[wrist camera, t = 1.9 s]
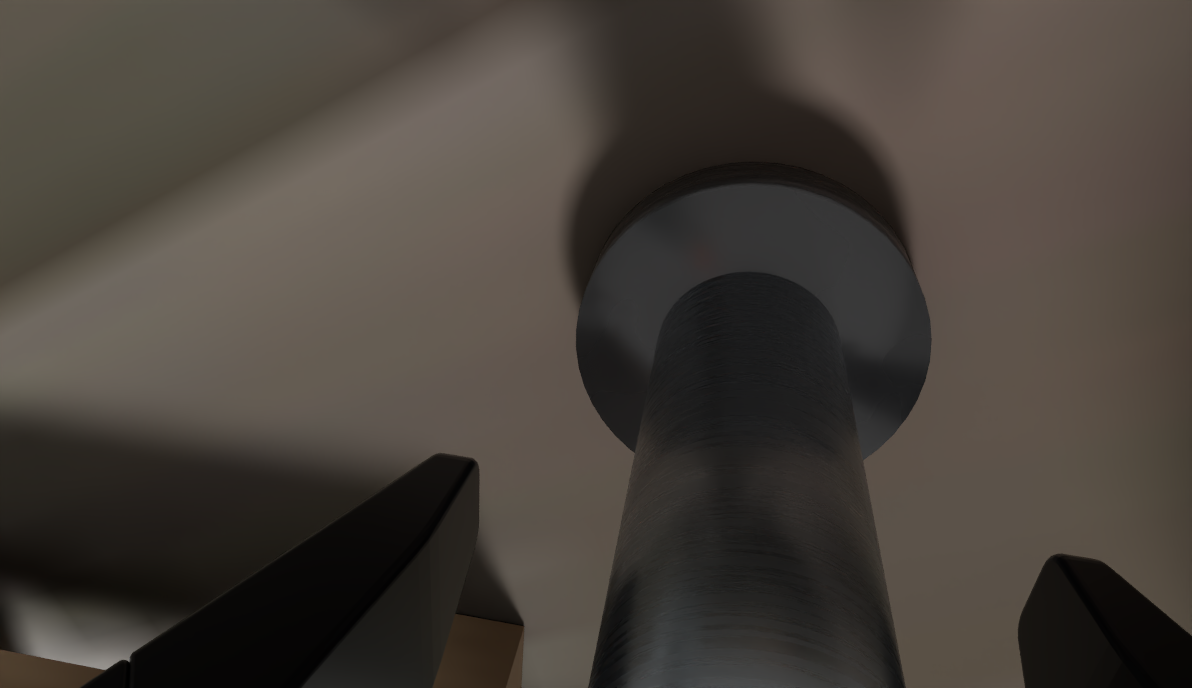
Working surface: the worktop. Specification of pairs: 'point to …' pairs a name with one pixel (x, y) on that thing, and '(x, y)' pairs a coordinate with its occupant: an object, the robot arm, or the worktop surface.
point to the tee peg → (751, 429)
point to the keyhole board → (463, 684)
